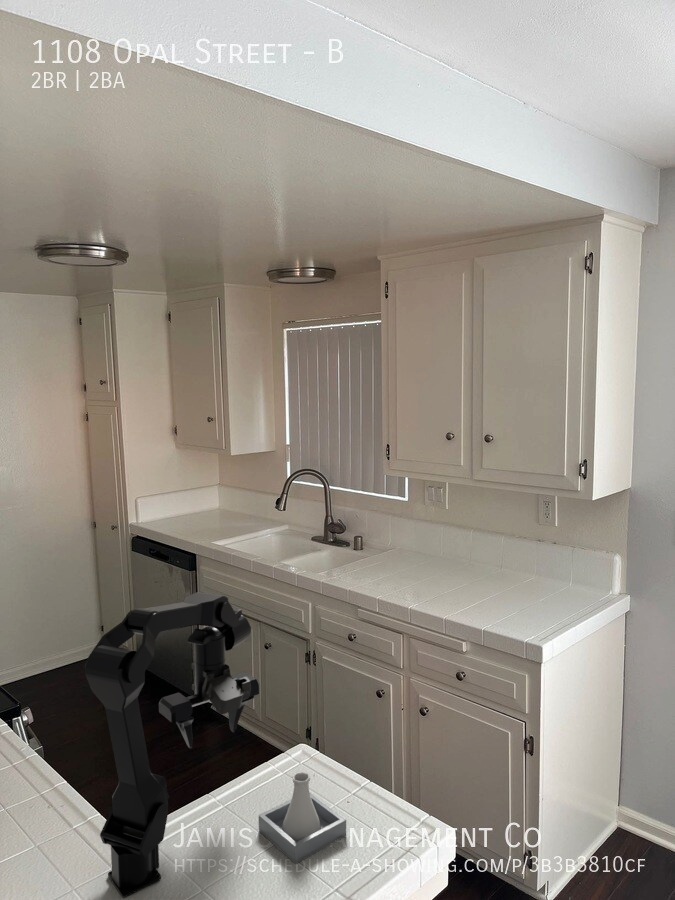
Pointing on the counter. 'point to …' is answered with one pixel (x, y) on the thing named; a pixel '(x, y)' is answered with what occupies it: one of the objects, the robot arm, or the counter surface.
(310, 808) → the flask
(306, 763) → the counter surface
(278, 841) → the box
